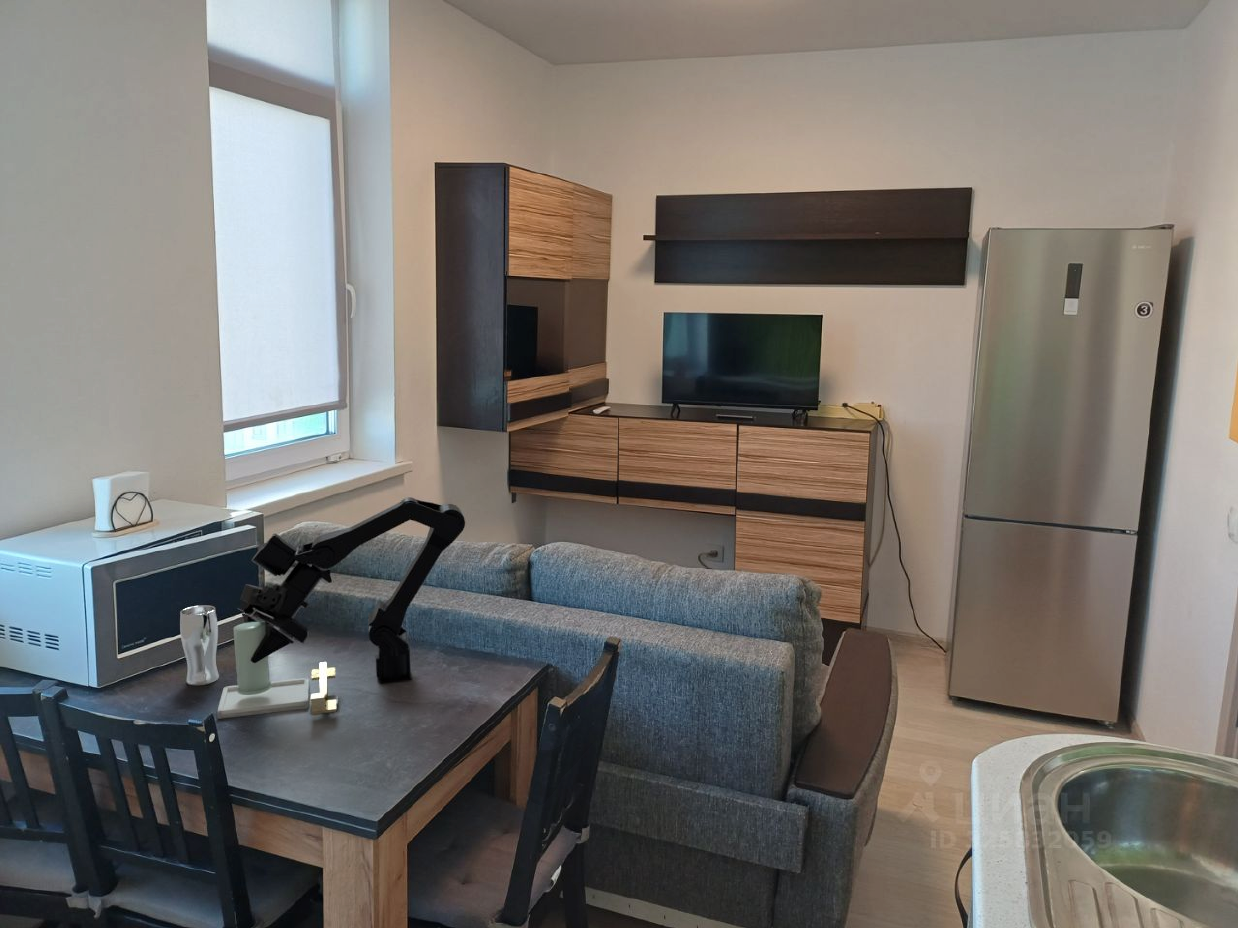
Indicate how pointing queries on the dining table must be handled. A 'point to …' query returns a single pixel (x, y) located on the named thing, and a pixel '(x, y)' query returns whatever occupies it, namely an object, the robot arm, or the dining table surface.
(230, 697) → the dish
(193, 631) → the beer glass
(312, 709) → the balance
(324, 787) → the dining table surface
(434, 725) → the dining table surface
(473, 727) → the dining table surface
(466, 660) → the dining table surface
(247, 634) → the cup
